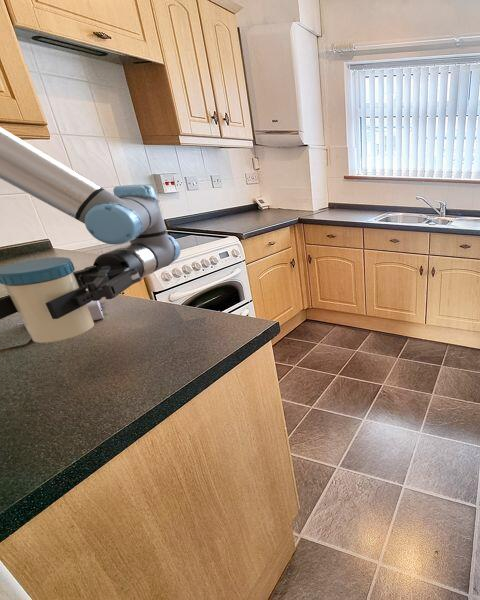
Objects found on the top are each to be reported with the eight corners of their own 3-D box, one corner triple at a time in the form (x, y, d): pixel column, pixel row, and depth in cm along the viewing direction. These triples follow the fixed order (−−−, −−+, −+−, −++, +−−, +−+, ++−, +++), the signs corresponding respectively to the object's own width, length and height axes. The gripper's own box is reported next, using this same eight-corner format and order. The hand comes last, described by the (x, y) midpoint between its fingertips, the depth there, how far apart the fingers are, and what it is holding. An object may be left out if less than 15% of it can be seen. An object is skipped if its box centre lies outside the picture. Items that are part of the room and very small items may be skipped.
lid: (-13, 289, 49) (-19, 277, 48) (13, 272, 56) (8, 261, 55) (65, 279, 53) (61, 268, 52) (81, 264, 60) (77, 254, 59)
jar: (23, 347, 53) (-13, 279, 49) (42, 326, 60) (12, 264, 55) (87, 335, 57) (60, 271, 52) (99, 316, 63) (75, 258, 59)
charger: (23, 325, 83) (101, 308, 92) (20, 340, 77) (104, 319, 86) (14, 308, 81) (95, 292, 90) (10, 321, 75) (97, 302, 84)
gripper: (179, 281, 74) (101, 331, 53) (81, 283, 73) (-38, 334, 53) (170, 248, 71) (83, 287, 50) (68, 249, 70) (-64, 290, 50)
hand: (21, 311), depth 52 cm, fingers closed on jar, 8 cm apart
